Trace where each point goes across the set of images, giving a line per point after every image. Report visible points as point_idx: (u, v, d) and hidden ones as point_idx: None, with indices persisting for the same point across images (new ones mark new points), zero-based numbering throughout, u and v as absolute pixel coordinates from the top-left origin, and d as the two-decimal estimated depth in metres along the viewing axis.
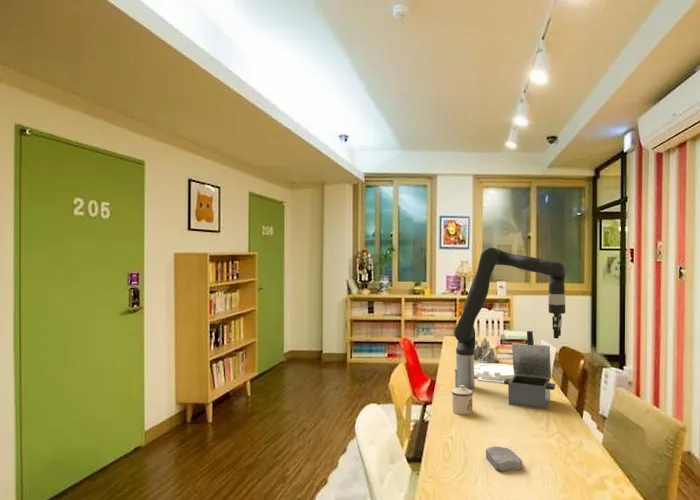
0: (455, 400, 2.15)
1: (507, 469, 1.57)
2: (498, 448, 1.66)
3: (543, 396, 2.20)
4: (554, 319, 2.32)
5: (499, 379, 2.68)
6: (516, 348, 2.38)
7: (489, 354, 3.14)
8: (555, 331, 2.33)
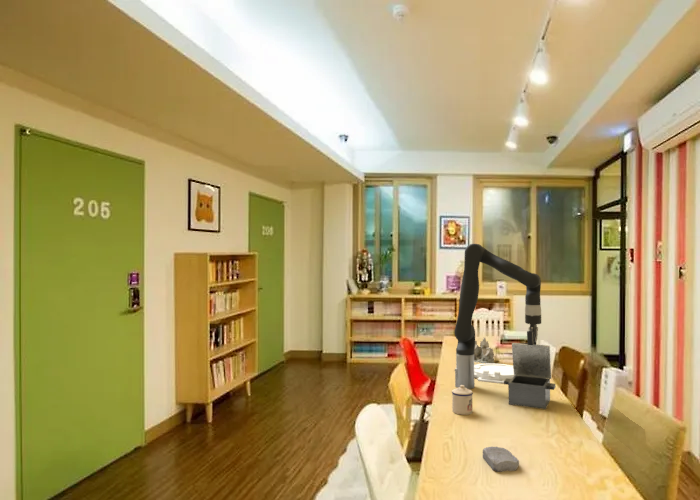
0: (455, 400, 2.15)
1: (504, 469, 1.57)
2: (495, 448, 1.66)
3: (543, 396, 2.20)
4: None
5: (499, 379, 2.68)
6: (516, 348, 2.38)
7: (488, 354, 3.14)
8: None
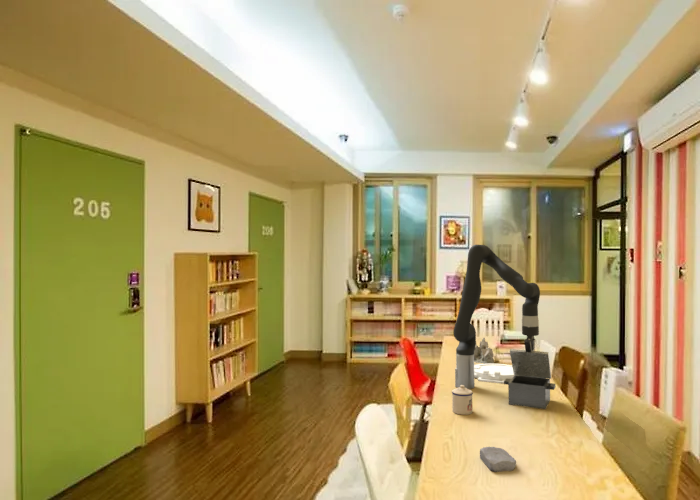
0: (455, 400, 2.15)
1: (501, 469, 1.57)
2: (492, 448, 1.66)
3: (543, 396, 2.20)
4: None
5: (499, 379, 2.68)
6: (514, 354, 2.34)
7: (488, 354, 3.14)
8: None
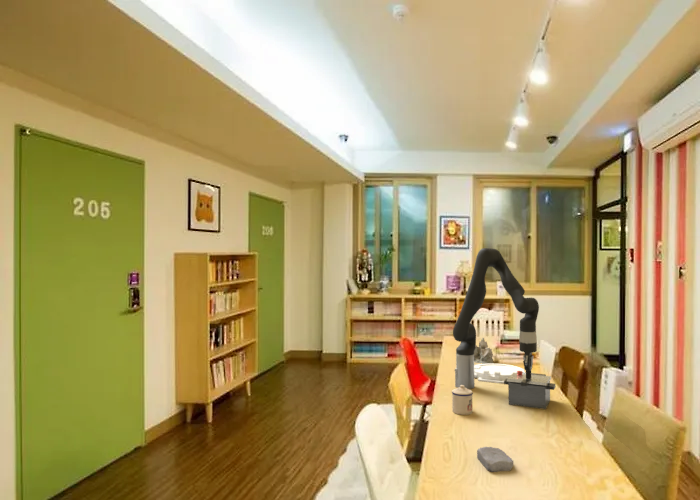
0: (455, 400, 2.15)
1: (498, 469, 1.57)
2: (489, 448, 1.66)
3: (543, 396, 2.20)
4: (525, 363, 2.23)
5: (499, 379, 2.68)
6: None
7: (487, 354, 3.14)
8: (527, 371, 2.27)
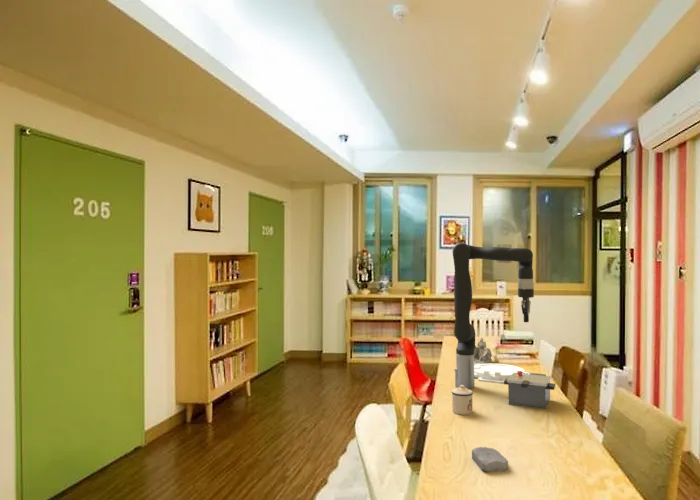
0: (455, 400, 2.15)
1: (493, 470, 1.57)
2: (484, 449, 1.66)
3: (543, 396, 2.20)
4: (523, 307, 2.44)
5: (499, 379, 2.68)
6: None
7: (486, 354, 3.13)
8: (525, 315, 2.48)
